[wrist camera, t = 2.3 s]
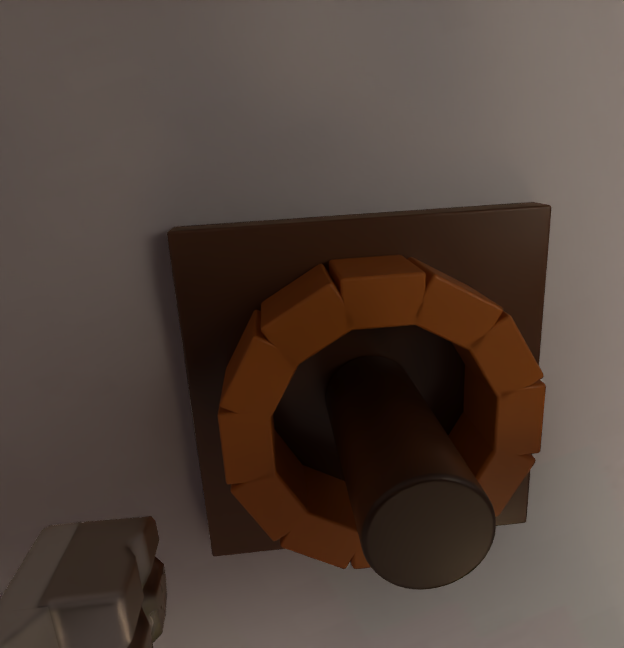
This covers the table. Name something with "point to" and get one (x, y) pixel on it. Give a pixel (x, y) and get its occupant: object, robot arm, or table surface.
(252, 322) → the ring
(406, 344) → the post
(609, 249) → the table surface
